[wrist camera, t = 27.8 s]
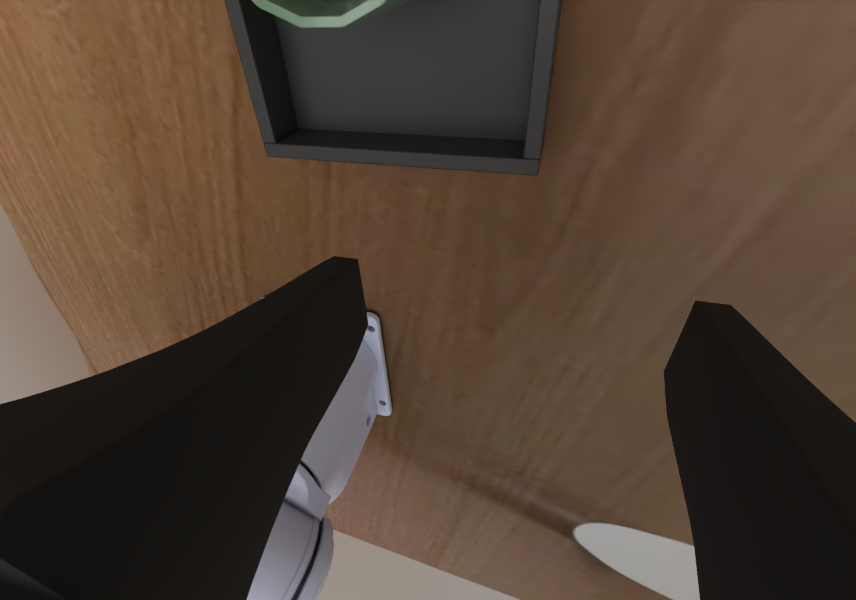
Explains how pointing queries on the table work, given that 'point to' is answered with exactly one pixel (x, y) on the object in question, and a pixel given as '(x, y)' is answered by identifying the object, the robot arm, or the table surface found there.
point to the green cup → (328, 11)
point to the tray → (405, 84)
